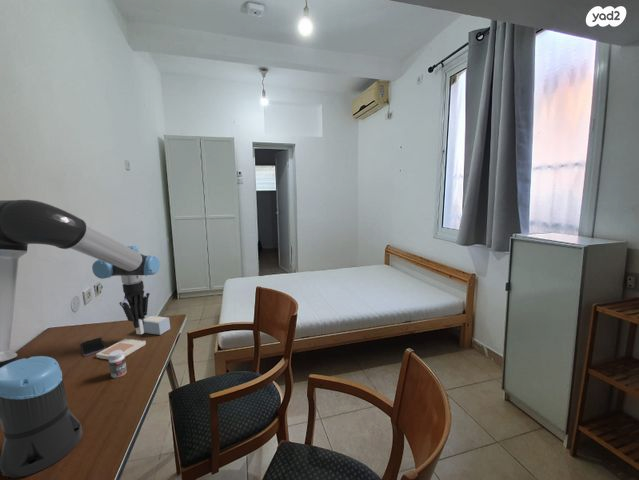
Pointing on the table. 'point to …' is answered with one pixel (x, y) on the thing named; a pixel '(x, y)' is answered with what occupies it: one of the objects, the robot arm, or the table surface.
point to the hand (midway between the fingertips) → (140, 333)
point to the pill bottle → (117, 363)
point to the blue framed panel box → (156, 325)
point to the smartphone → (92, 346)
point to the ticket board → (122, 347)
